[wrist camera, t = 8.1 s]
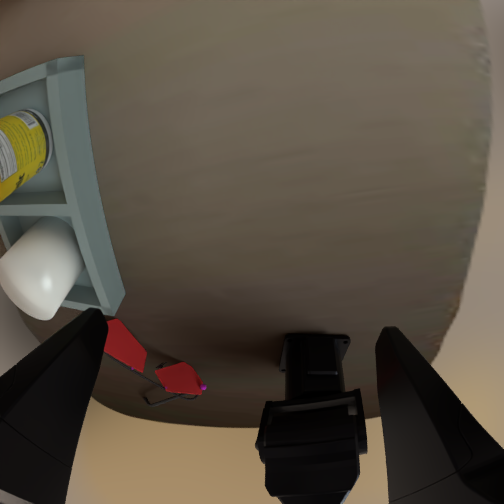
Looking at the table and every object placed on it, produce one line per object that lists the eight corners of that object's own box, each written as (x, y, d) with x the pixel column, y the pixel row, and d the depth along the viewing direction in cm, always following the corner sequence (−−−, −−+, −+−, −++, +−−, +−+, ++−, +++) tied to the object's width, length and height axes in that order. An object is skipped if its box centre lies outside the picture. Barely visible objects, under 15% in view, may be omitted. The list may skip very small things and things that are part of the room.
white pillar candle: (95, 277, 25) (66, 326, 20) (46, 270, 25) (16, 312, 20) (76, 216, 21) (34, 262, 16) (26, 215, 21) (-14, 254, 16)
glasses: (211, 369, 34) (204, 406, 30) (146, 397, 41) (138, 424, 37) (112, 305, 29) (93, 342, 25) (70, 351, 36) (57, 378, 32)
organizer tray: (125, 293, 27) (114, 316, 24) (43, 280, 27) (29, 298, 25) (83, 55, 14) (57, 58, 12) (-9, 89, 15) (-33, 98, 12)
